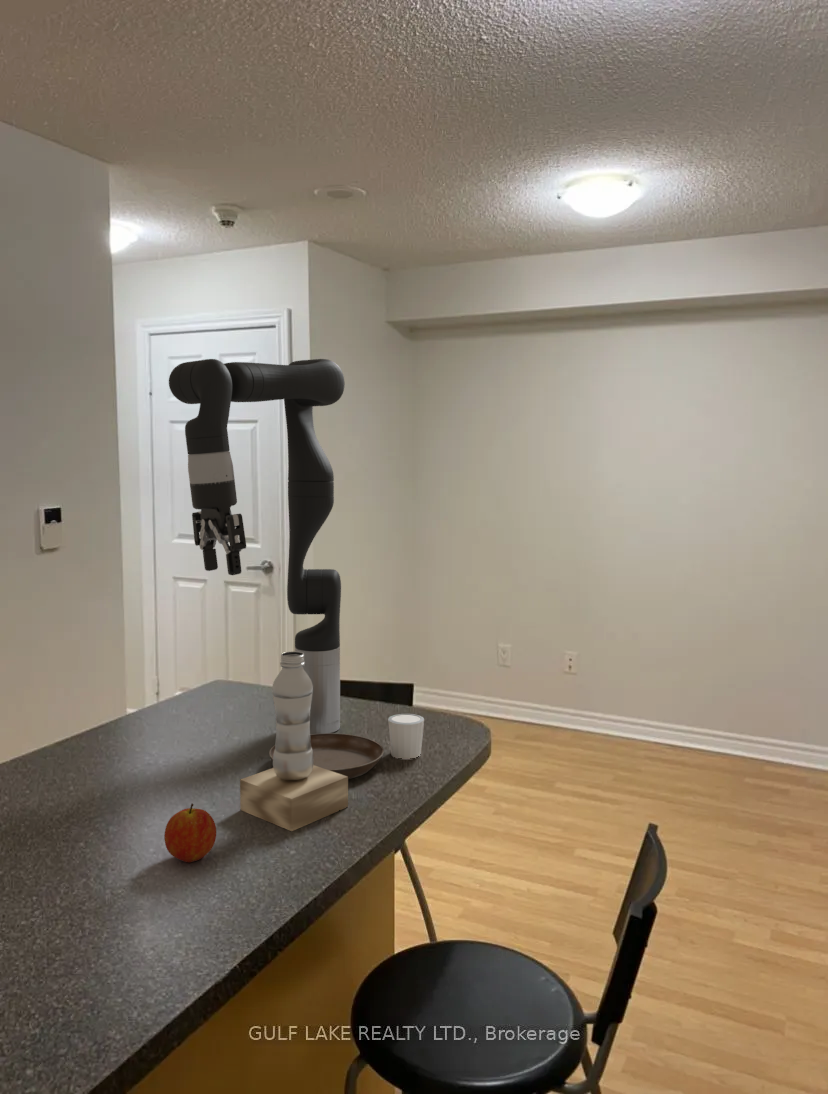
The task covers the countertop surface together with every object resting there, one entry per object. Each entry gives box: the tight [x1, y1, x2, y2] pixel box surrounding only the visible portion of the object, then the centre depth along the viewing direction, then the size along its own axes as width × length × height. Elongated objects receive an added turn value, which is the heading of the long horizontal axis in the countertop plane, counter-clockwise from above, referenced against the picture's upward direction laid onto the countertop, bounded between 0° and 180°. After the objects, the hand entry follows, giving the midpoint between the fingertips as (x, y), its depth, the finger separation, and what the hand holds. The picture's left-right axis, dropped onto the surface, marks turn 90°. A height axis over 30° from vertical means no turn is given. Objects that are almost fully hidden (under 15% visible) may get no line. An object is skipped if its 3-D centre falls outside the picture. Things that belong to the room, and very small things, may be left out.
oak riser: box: [239, 765, 349, 832], centre depth 134 cm, size 12×12×5 cm
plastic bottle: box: [271, 650, 314, 780], centre depth 133 cm, size 6×7×20 cm
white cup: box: [387, 713, 425, 760], centre depth 160 cm, size 7×7×7 cm
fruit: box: [163, 803, 217, 864], centre depth 117 cm, size 7×7×8 cm
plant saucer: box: [268, 732, 385, 780], centre depth 154 cm, size 21×21×3 cm
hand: (223, 572), depth 147 cm, fingers open, 8 cm apart
